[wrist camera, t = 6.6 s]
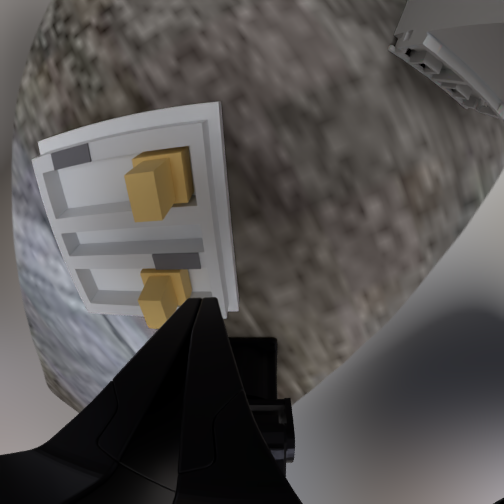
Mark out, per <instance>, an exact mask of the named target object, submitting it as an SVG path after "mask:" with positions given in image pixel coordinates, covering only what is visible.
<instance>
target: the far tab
mask: <svg viewBox="0 0 504 504" xmlns="http://www.w3.org/2000/svg"><path fill="white" fill-rule="evenodd" d="M140 275H141V278H142V281H143V284H144V288H143V290H142V292H141V294H140V296H139V298H138V303H139V305H140V308H141V310H142V313H143V315H144V318H145V320H146V323H147V325H148V327H149V328H154V329H159V328H160V327H161V326H162V325H163V324H164V323H165V322H166V321H167V320H168V319H169V318H170V317H171V316H172V314H173V313H174V312H175V311H176V309H177V306H178V305H182V304H183V303H184V302H185V301H186V300H187V299H188V298H190V296H191V292H192V287H191V282H190V278H189V273H188V269H175V270H156V268H147V269H142V270H141V272H140Z"/></svg>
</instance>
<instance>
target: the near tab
mask: <svg viewBox="0 0 504 504" xmlns="http://www.w3.org/2000/svg"><path fill="white" fill-rule="evenodd" d="M132 164H133V169H131V170H130V171H129V172H127V173H126V174H125V175H124V178H125V183H126V187H127V192H128V196H129V201H130V205H131V209H132V213H133V217H134V221H135V222H147V221H162V220H163V219H164V218H165V216H166V215H167V213H168V212H169V210H170V209H171V207H172V205H173V204H176V203H188V202H189V200H190V198H191V196H192V195H193V193H194V186H193V179H192V171H191V163H190V155H189V147H188V146H183V147H175V148H167V149H159V150H152V151H145V152H142V153H140V154H139V155H137V156H136V157H134V158H133V159H132Z"/></svg>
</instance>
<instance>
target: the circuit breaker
mask: <svg viewBox="0 0 504 504" xmlns="http://www.w3.org/2000/svg"><path fill="white" fill-rule="evenodd" d="M394 36H395V37H397V38H398V40H397V43H396V45H395V47H394V46H393V45H389V47H388V51H390V52H391V53H393V54H395V55H396V56H398V57H399V58H401V59H402V60H404V61H405V62H407V63H408V64H410V65H411V66H412V67H414V68H415V69H417V70H418V71H419V72H421V73H422V74H424V75H425V76H426V77H428V78H429V79H430V80H431V81H433V82H434V83H435V84H437V85H438V86H439V87H440V88H442V89H443V90H444V91H445V92H446V93H448V94H449V95H450V96H451V97H452V98H453V99H455V100H456V101H457V102H458V103H459V104H460V105H461V106H462V107H464V108H465V109H468V107H469V108H473V109H474V110H476V111H477V112H479V113H482V114H486V115H489V116H492V117H495V118H498V119H501V120H504V0H408V1H407V4H406V6H405V9H404V11H403V14H402V16H401V19H400V21H399V23H398V26H397V28H396V31H395V33H394ZM408 48H410V49H411V52H410V54H409V56H408V55H406V54H405V53H406V51H407V49H408ZM422 63H424V64H425V68H423V67H422V66H420V65H419V64H422ZM451 89H453V91H452V90H451ZM484 102H486V103H487V104H488V106H487V107H486V106H483V105H484Z"/></svg>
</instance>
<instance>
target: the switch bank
mask: <svg viewBox="0 0 504 504" xmlns="http://www.w3.org/2000/svg"><path fill="white" fill-rule="evenodd" d="M38 145H39V150H40V154H41V155H40V156H38V157H36V158H34V159H32V163H33V167H34V171H35V175H36V179H37V183H38V187H39V190H40V194H41V197H42V200H43V204H44V207H45V210H46V213H47V216H48V219H49V222H50V225H51V228H52V231H53V233H54V236H55V239H56V241H57V244H58V247H59V249H60V252H61V254H62V257H63V259H64V261H65V264H66V266H67V268H68V271H69V273H70V275H71V278H72V280H73V282H74V284H75V286H76V288H77V290H78V293H79V295H80V297H81V299H82V301H83V303H84V305H85V307H86V309H87V311H88V313H96V314H109V315H124V316H142V317H144V315H143V313H142V310H141V308H140V305H139V303H138V298H139V296H140V294H141V292H142V290H143V288H144V284H143V281H142V278H141V275H140V272H141V270H142V269H147V268H156V270H175V269H188V273H189V278H190V282H191V287H192V292H191V296H190V298H199V297H200V298H202V299H203V298H204V297H216V298H217V299H218V302H219V306H220V310H221V313H222V317H223V319H227V313H228V311H239V293H238V283H237V274H236V264H235V254H234V244H233V234H232V223H231V213H230V202H229V191H228V180H227V168H226V157H225V145H224V132H223V120H222V107H221V101H216V102H206V103H197V104H189V105H182V106H175V107H169V108H163V109H157V110H151V111H146V112H141V113H136V114H131V115H127V116H122V117H118V118H114V119H109V120H105V121H102V122H98V123H94V124H90V125H87V126H83V127H80V128H77V129H73V130H70V131H67V132H64V133H61V134H58V135H55V136H52V137H49V138H46V139H44V140H42V141H39V142H38ZM183 146H188V147H189V155H190V163H191V171H192V179H193V186H194V193H193V195H192V196H191V198H190V200H189V202H188V203H176V204H173V205H172V207H171V209H170V210H169V212H168V213H167V215H166V216H165V218H164V219H163V220H162V221H147V222H135V221H134V217H133V213H132V209H131V205H130V201H129V196H128V192H127V187H126V183H125V178H124V175H125V174H126V173H127V172H129V171H130V170H131V169H133V164H132V159H133V158H134V157H136V156H137V155H139V154H140V153H142V152H145V151H152V150H159V149H167V148H175V147H183ZM180 306H181V305H178V306H177V309H178V308H179V307H180ZM177 309H176V310H177Z"/></svg>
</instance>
